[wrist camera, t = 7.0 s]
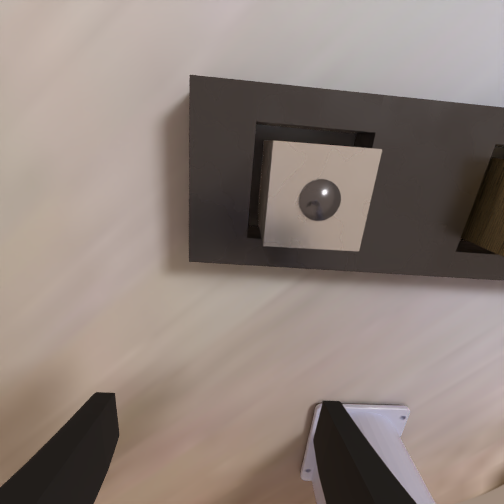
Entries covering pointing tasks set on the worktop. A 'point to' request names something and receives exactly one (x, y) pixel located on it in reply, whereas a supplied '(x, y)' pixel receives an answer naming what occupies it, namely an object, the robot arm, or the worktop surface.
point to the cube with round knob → (315, 194)
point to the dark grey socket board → (385, 188)
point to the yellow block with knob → (488, 211)
